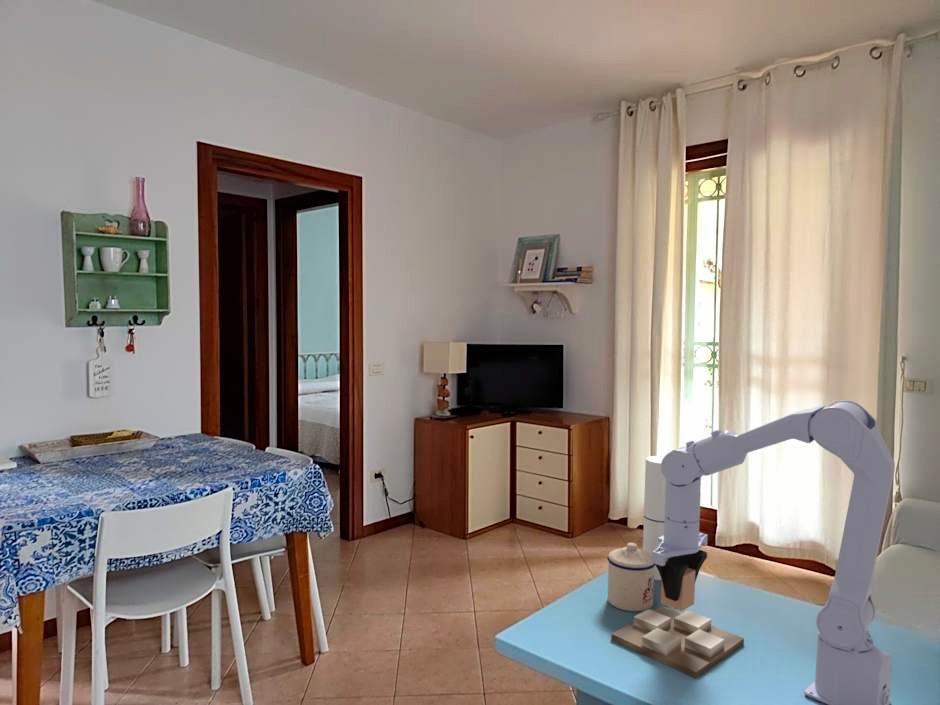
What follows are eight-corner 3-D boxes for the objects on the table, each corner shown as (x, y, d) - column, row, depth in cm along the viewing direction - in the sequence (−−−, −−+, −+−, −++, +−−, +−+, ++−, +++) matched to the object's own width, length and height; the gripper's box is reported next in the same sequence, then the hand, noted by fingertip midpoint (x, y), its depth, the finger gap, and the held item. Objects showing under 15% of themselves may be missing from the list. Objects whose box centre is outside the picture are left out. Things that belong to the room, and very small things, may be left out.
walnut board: (743, 643, 116) (744, 629, 116) (695, 678, 106) (696, 663, 105) (661, 611, 128) (662, 598, 128) (611, 639, 117) (611, 625, 117)
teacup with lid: (653, 616, 126) (655, 555, 125) (604, 609, 129) (605, 549, 128) (655, 589, 138) (657, 533, 137) (609, 583, 140) (611, 529, 139)
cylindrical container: (641, 578, 143) (645, 462, 141) (642, 565, 150) (646, 454, 148) (676, 582, 141) (680, 465, 139) (676, 569, 148) (680, 457, 146)
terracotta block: (694, 604, 116) (695, 570, 116) (681, 611, 114) (683, 576, 113) (673, 596, 119) (674, 563, 119) (660, 602, 117) (662, 569, 116)
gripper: (683, 503, 123) (680, 576, 124) (637, 520, 113) (634, 599, 114) (719, 513, 118) (716, 588, 119) (675, 532, 108) (672, 614, 109)
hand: (679, 594), depth 116 cm, fingers closed on terracotta block, 4 cm apart
